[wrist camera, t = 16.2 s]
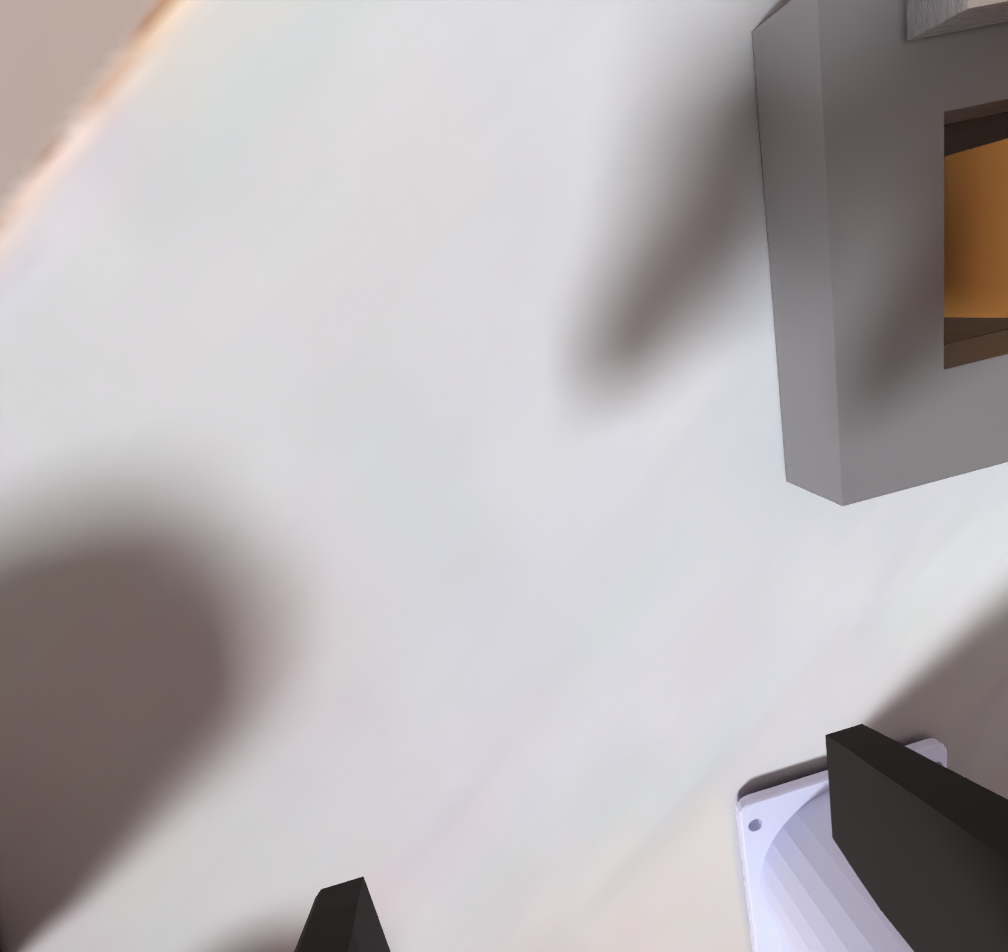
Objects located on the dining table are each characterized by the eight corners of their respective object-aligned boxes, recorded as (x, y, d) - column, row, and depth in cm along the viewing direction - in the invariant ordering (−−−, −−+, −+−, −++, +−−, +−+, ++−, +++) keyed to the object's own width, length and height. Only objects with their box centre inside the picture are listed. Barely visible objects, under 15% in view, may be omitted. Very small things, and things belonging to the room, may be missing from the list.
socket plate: (1127, 392, 20) (1226, 403, 17) (786, 481, 19) (842, 506, 16) (1166, -44, 16) (1296, -105, 14) (751, 31, 15) (816, -21, 13)
